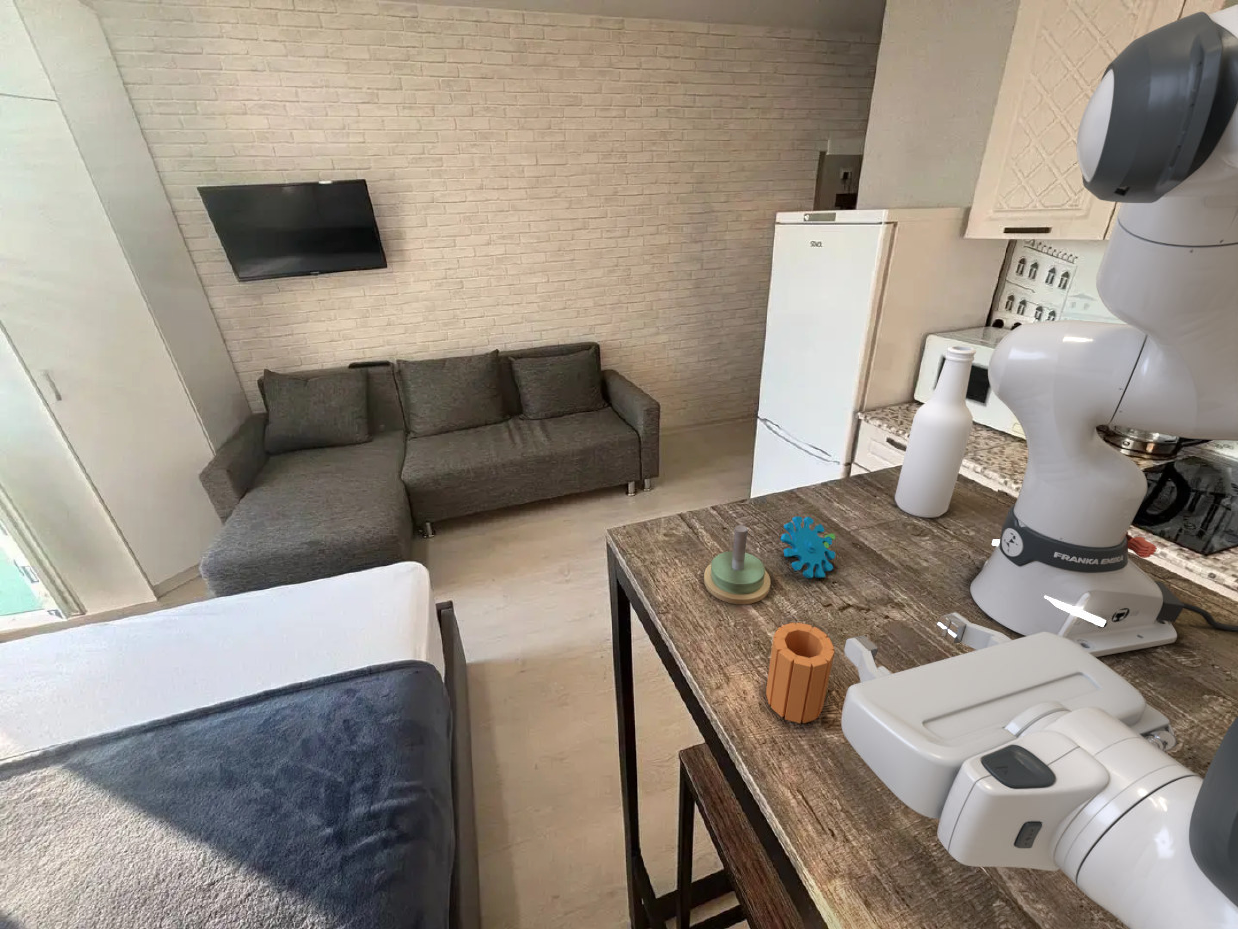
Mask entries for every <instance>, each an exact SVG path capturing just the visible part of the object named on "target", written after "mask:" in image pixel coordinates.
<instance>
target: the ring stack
mask: <svg viewBox="0 0 1238 929" xmlns="http://www.w3.org/2000/svg"><path fill="white" fill-rule="evenodd" d="M733 532H734V534H733V544H732V545H733V546H732V550H729V551H724V552H721V553H719V554H717V555H716V556H714V558H713V559H712V560H711V562H710V563H709V564H708V565H707V567H705V570H704V572H703V583H704V585H705V588H706V590H707V591H708V593H709V594H711V595H712V596H713V597H714V598H716V599H718V600H720V601H723V602H726V603H728V604H733V605H751V604H755V603H758V602H760V601H761V600H763V599H765V598H766V597H767V595H768V594H769V593H770V590H771V577H770V574H769V573H768V572H767V570H766V568H765V565H764V563H763V562H762V560H760V559H759V558H758V557H757V556H755V555H754V554H751V553H748V552H746V550H747V549H746V548H747V538H748V527H747V526H746V525H744V524H738V525H735V526H734V531H733Z"/></svg>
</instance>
